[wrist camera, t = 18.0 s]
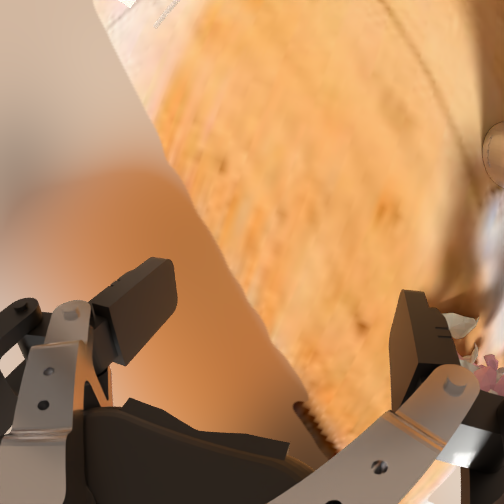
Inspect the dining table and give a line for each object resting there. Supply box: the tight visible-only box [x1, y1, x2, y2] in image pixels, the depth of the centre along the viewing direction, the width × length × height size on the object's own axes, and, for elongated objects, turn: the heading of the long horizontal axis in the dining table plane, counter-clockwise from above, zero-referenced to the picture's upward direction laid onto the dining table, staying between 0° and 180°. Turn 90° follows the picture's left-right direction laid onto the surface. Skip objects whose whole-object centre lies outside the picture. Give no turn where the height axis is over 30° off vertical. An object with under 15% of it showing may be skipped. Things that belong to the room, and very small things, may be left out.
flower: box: [443, 313, 504, 396], centre depth 36 cm, size 20×22×24 cm
